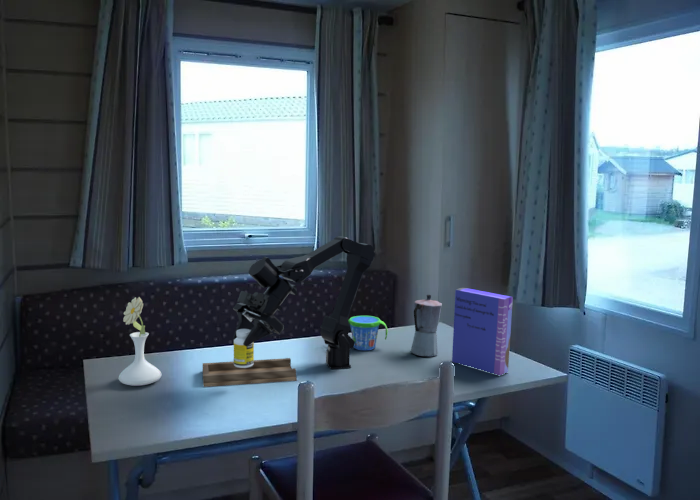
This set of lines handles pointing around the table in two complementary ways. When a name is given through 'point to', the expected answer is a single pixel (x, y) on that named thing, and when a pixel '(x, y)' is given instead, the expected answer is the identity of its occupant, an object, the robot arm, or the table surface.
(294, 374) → the walnut track
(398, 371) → the table surface
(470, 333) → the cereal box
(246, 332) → the supplement bottle
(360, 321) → the snack cup
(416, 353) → the moka pot
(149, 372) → the flower in vase
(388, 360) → the table surface
